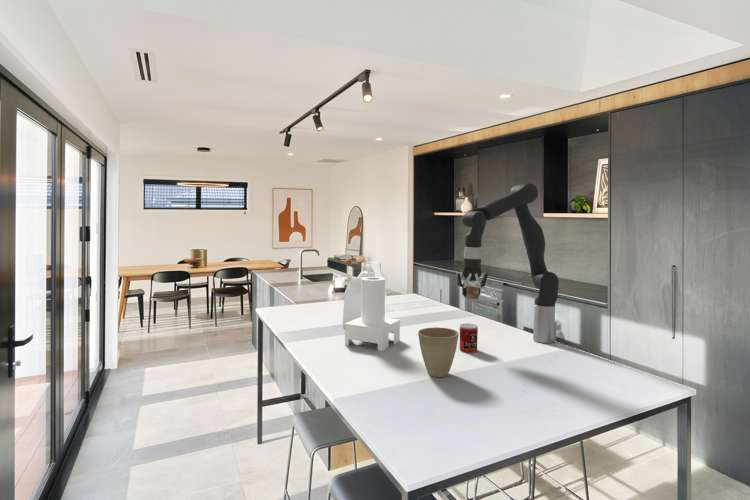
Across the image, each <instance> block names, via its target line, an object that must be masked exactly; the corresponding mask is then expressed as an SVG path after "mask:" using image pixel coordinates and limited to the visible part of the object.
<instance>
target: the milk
mask: <svg viewBox="0 0 750 500" xmlns="http://www.w3.org/2000/svg"><path fill="white" fill-rule="evenodd" d="M361 278H362V277H358V276H351V277H350V280H349V283H348V284H347V286H346V288H345V291H344V293H343V294H344V296H343V309H342V313H343V314H342V328H344V329H345V323H348V322H350V321H353V320H355V319H357V318H360V317H361Z"/></svg>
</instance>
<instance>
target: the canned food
mask: <svg viewBox="0 0 750 500" xmlns="http://www.w3.org/2000/svg"><path fill="white" fill-rule="evenodd" d="M478 333H479V330H478V325H477V324H474V323H461V324H460V325H459V350H460V351H461V352H462V353H467V354H473V353H476V352H477V351H478V336H479V335H478Z"/></svg>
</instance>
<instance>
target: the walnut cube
mask: <svg viewBox="0 0 750 500" xmlns="http://www.w3.org/2000/svg"><path fill="white" fill-rule="evenodd" d="M479 296H480V295H479V287H477V286H476V284H475V285H470V284H469V285H468V284H467V286H466V297H464V298H466V299H467V300H469V299H470V300H475V299H476V300H479Z"/></svg>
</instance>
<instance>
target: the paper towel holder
mask: <svg viewBox="0 0 750 500" xmlns="http://www.w3.org/2000/svg"><path fill="white" fill-rule="evenodd" d="M389 334H393V344H394V345H395V344H396V343H398V342H400V341H401V319H397V318H396V319H395V318H388V317H386V278H385V277H382V276H381V277H380V276H368V277H366V276H365V277H361V317H360V318H357V319H355V320H353V321H350V322H348V323H345V328H344V345H345V346H349V345H350V343H352V342H353V341H359V342H366V343H372V344H377V351H379V352H383V351H384V350H386V349H388V348H389Z"/></svg>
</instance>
